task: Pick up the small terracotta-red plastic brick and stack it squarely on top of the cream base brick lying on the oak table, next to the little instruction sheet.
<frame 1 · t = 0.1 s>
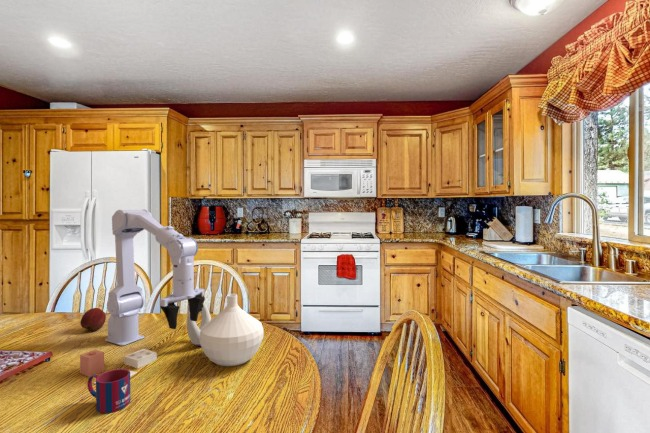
hand: (183, 324, 103), 10 cm above the table, fingers open, 7 cm apart
red brick: (92, 371, 95), on the table
vase: (232, 359, 103), on the table
base brick: (140, 363, 101), on the table
instruction sheet: (116, 377, 91), on the table
apple: (93, 330, 125), on the table
toy: (198, 344, 114), on the table
mug: (108, 404, 80), on the table
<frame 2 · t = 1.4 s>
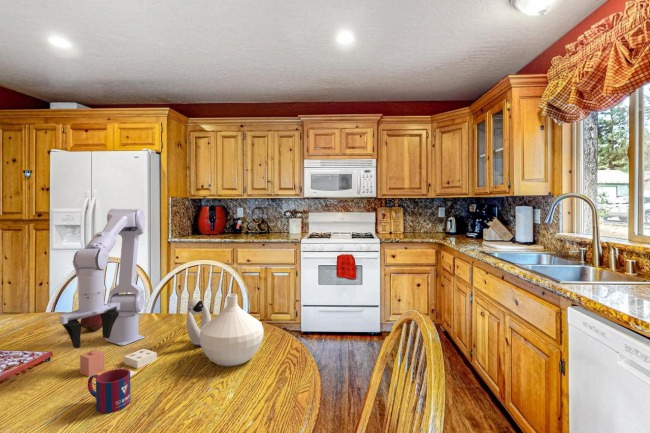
hand: (91, 342, 94), 8 cm above the table, fingers open, 7 cm apart
nothing on the table moved.
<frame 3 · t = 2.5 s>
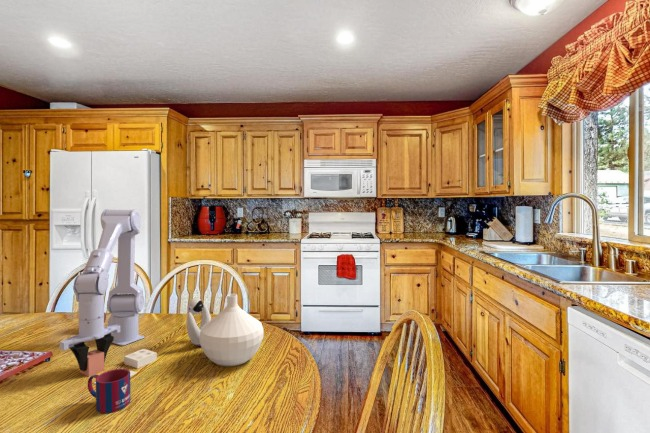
hand: (92, 366, 95), 1 cm above the table, fingers closed on red brick, 4 cm apart
red brick: (92, 371, 95), on the table, touching gripper
everything else where it was.
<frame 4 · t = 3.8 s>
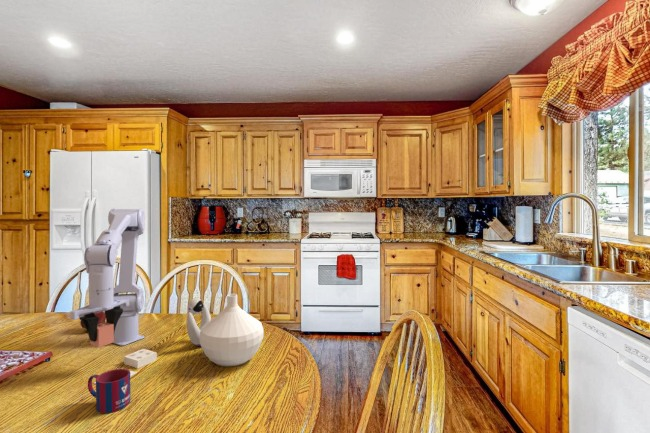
hand: (102, 337, 96), 9 cm above the table, fingers closed on red brick, 4 cm apart
red brick: (102, 343, 96), point 7 cm above the table, touching gripper
everything else where it was.
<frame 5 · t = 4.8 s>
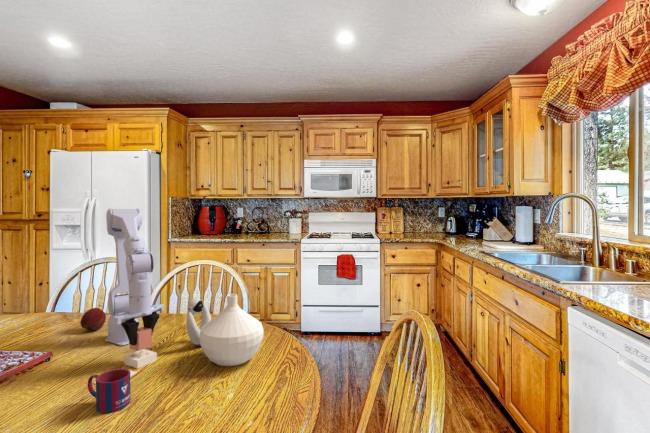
hand: (140, 341, 100), 6 cm above the table, fingers closed on red brick, 4 cm apart
red brick: (140, 347, 100), point 4 cm above the table, touching gripper
everything else where it was.
when the fingers open (5 cm above the table, at t = 5.3 s): red brick drops 2 cm, resting on base brick.
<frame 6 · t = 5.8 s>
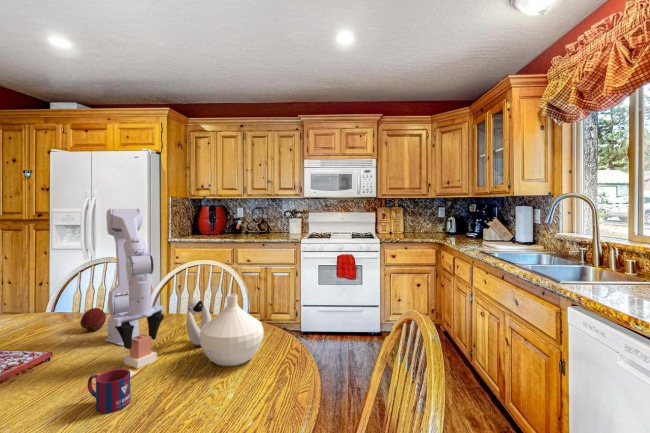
hand: (140, 343, 101), 5 cm above the table, fingers open, 7 cm apart
red brick: (140, 354, 101), point 2 cm above the table, touching base brick
base brick: (140, 363, 101), on the table, touching red brick
everything else where it was.
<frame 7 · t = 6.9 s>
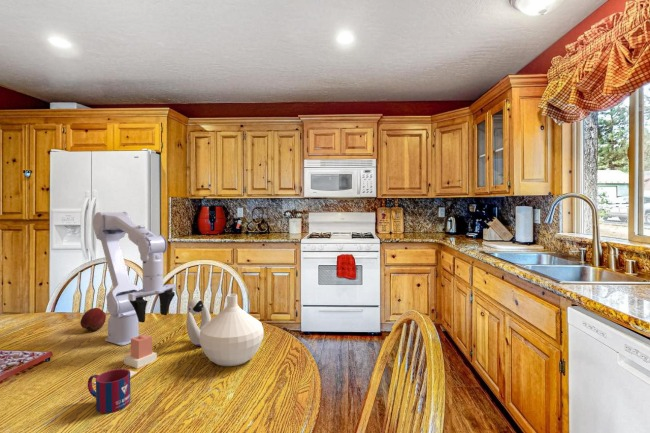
hand: (153, 318, 108), 10 cm above the table, fingers open, 7 cm apart
red brick: (141, 354, 101), point 2 cm above the table
base brick: (140, 363, 101), on the table
everything else where it was.
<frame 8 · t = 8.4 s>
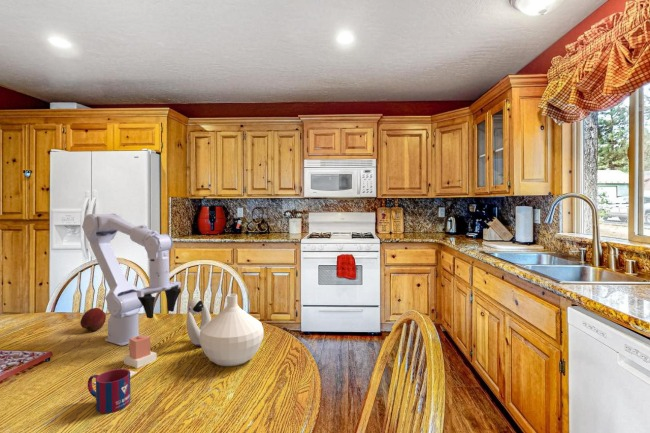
hand: (160, 314, 111), 10 cm above the table, fingers open, 7 cm apart
red brick: (139, 355, 100), point 2 cm above the table, touching base brick
base brick: (140, 363, 101), on the table, touching red brick
everything else where it was.
at the end: red brick 0.2 cm off-centre on the base brick, point 2.5 cm above the base brick's base; red brick tilted 1°; the gripper is holding nothing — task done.
